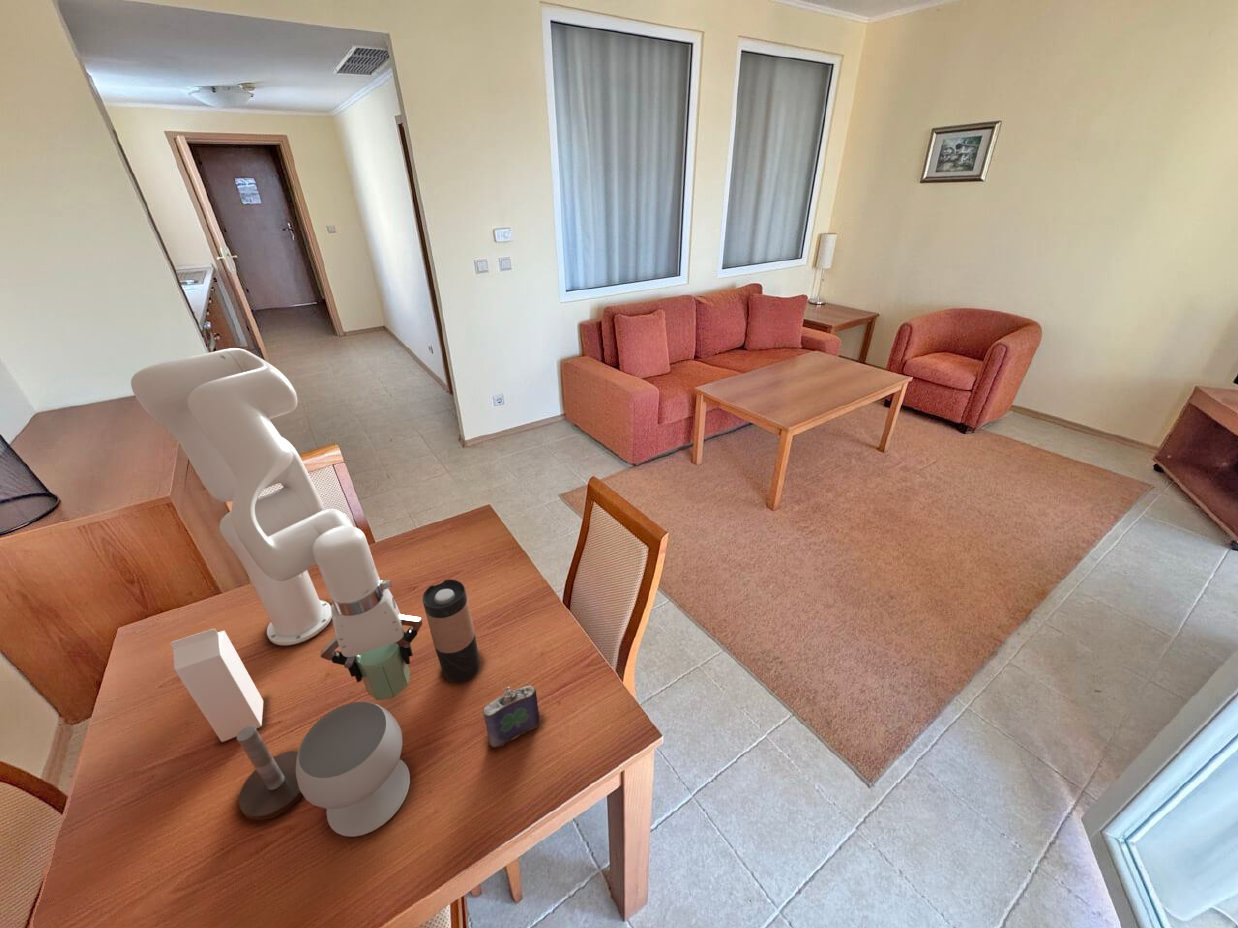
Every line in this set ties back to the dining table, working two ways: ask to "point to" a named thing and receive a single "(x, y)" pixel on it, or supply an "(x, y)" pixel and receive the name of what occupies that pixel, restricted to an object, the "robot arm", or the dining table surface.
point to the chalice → (354, 767)
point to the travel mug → (452, 630)
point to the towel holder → (267, 779)
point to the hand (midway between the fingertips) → (383, 666)
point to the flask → (511, 715)
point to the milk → (218, 682)
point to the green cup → (384, 671)
